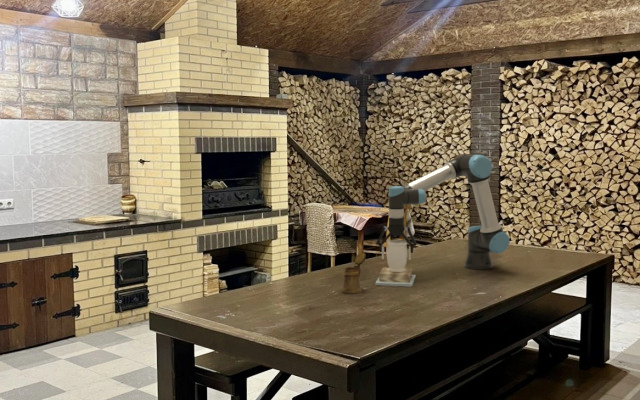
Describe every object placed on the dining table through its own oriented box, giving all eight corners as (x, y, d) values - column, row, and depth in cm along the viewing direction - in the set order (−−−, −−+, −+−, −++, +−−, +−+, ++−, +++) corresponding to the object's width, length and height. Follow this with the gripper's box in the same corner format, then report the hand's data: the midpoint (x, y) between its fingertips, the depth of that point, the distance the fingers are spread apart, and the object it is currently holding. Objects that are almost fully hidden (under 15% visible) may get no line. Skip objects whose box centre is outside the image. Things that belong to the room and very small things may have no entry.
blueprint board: (415, 277, 346) (415, 274, 346) (412, 286, 325) (412, 284, 325) (381, 275, 350) (381, 273, 350) (375, 285, 329) (375, 282, 329)
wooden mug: (371, 289, 320) (371, 252, 318) (352, 294, 310) (352, 256, 308) (357, 286, 326) (357, 250, 324) (338, 291, 316) (338, 254, 315)
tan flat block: (412, 276, 343) (412, 268, 343) (409, 282, 329) (409, 274, 328) (383, 275, 346) (383, 267, 346) (379, 281, 332) (379, 273, 331)
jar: (407, 269, 342) (407, 240, 340) (407, 273, 331) (407, 243, 330) (386, 268, 343) (386, 239, 341) (386, 272, 333) (386, 243, 331)
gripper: (422, 216, 335) (421, 258, 337) (372, 215, 341) (372, 256, 343) (420, 218, 328) (420, 261, 330) (370, 217, 333) (370, 259, 336)
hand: (396, 259), depth 337 cm, fingers open, 13 cm apart
